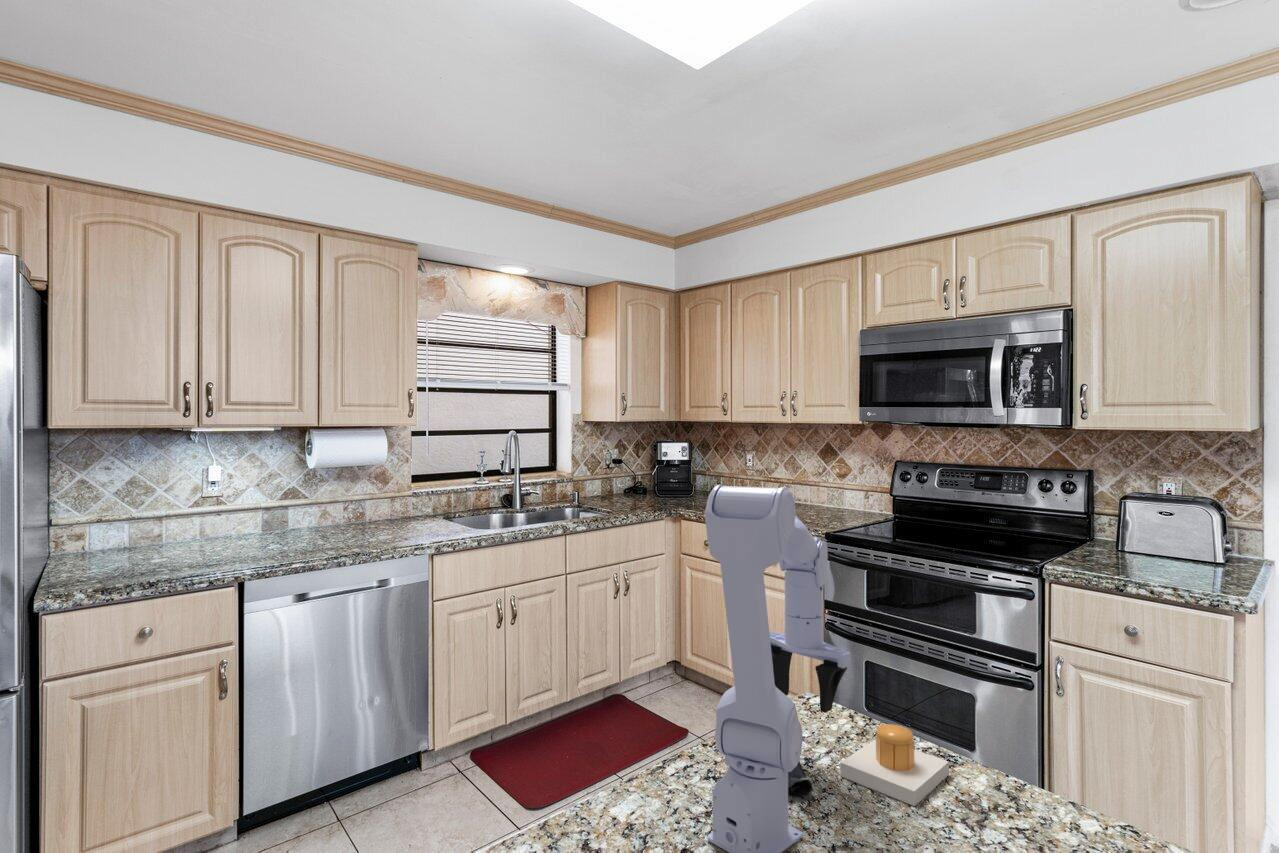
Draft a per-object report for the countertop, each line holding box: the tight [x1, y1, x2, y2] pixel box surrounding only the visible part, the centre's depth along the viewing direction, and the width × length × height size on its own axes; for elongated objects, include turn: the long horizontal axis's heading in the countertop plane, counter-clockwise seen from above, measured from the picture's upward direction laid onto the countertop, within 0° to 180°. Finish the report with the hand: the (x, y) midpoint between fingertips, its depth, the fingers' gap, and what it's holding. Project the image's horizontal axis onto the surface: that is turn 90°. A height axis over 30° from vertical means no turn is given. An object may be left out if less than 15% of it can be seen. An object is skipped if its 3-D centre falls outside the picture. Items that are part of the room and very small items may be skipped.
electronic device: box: [788, 760, 814, 798], centre depth 97 cm, size 9×6×15 cm
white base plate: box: [839, 738, 950, 807], centre depth 96 cm, size 12×11×5 cm
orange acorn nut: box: [875, 723, 915, 771], centre depth 96 cm, size 5×5×4 cm
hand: (804, 702), depth 99 cm, fingers open, 7 cm apart
